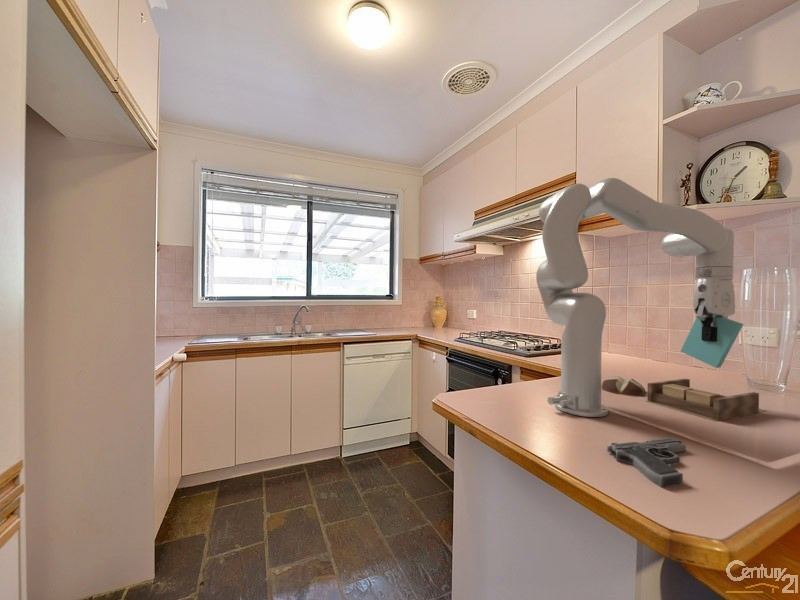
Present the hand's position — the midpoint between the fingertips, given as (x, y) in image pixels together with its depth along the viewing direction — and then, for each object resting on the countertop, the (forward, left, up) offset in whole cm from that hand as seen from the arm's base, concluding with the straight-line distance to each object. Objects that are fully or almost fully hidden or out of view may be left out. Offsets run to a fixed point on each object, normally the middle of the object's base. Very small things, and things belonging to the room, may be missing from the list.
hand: (711, 340), depth 89 cm
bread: (-10, +18, -19) cm, 28 cm away
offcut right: (-10, -3, -18) cm, 20 cm away
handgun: (-45, -16, -19) cm, 52 cm away
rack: (-4, 0, -19) cm, 19 cm away
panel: (0, +3, -6) cm, 6 cm away
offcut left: (-10, +3, -18) cm, 20 cm away
